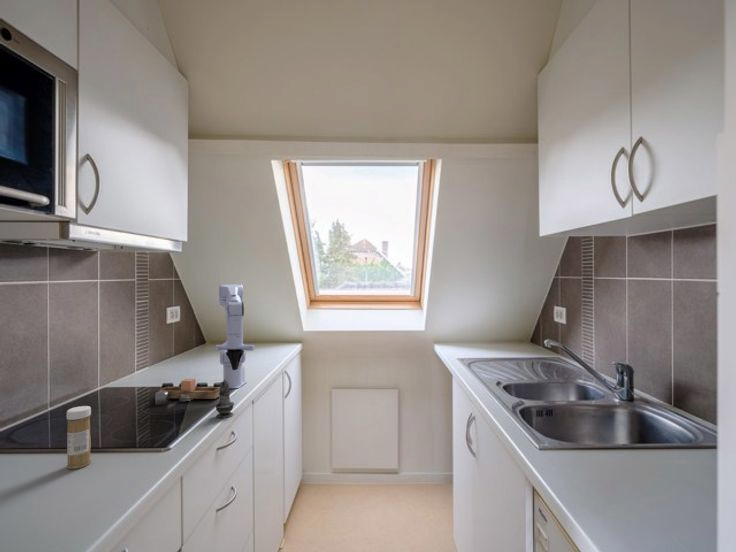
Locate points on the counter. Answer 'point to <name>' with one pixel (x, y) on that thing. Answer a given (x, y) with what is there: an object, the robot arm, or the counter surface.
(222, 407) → the dark grey turned ornament
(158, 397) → the weight
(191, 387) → the orange block
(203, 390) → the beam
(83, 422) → the sprinkles bottle
